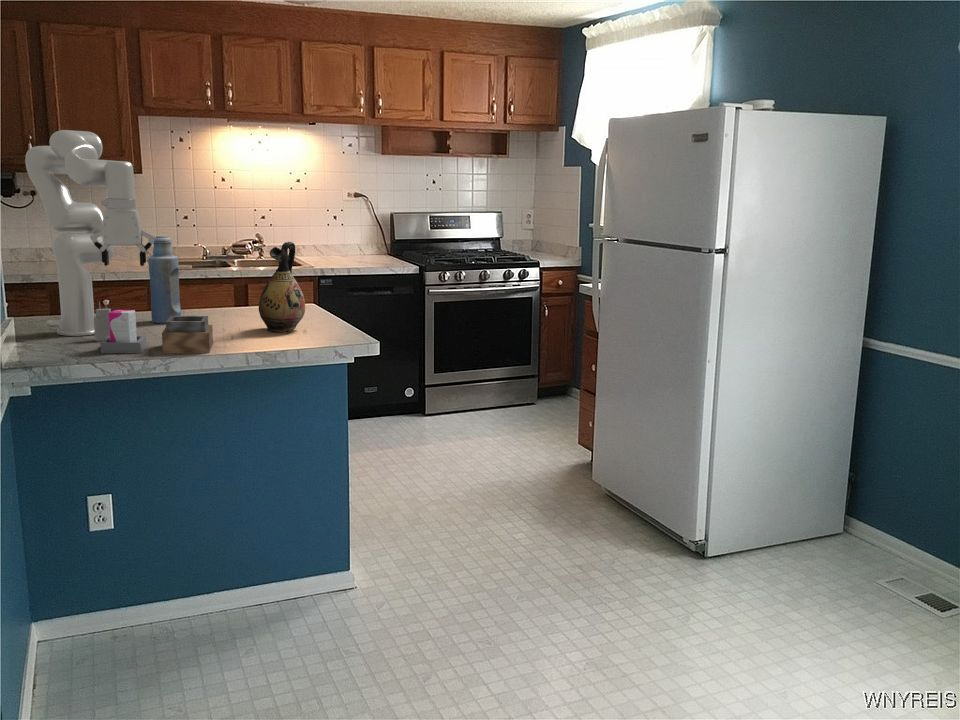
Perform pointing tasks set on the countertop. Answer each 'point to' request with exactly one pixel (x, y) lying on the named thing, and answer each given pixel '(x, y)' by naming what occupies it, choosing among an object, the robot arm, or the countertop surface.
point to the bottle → (164, 281)
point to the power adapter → (101, 323)
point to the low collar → (123, 346)
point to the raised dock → (187, 335)
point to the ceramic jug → (282, 294)
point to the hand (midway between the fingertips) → (124, 265)
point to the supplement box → (122, 326)
